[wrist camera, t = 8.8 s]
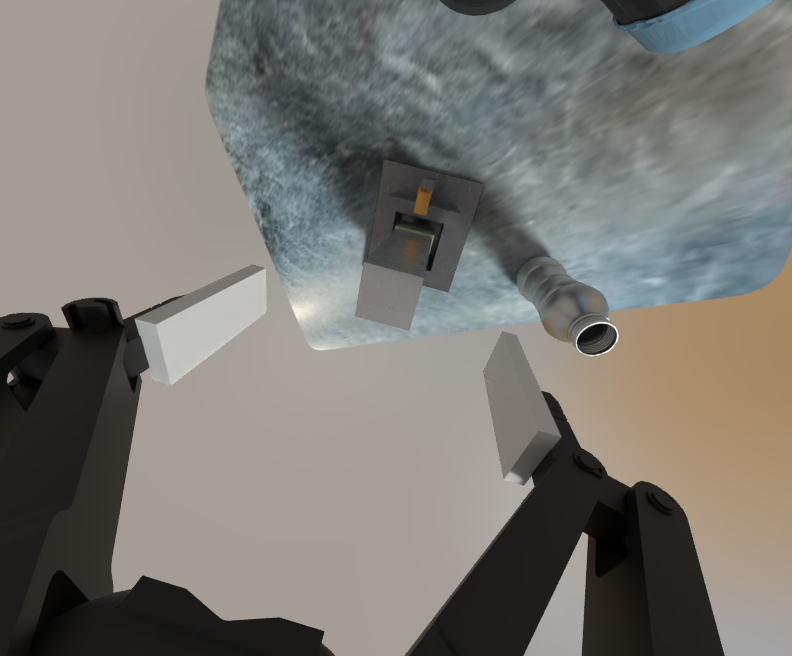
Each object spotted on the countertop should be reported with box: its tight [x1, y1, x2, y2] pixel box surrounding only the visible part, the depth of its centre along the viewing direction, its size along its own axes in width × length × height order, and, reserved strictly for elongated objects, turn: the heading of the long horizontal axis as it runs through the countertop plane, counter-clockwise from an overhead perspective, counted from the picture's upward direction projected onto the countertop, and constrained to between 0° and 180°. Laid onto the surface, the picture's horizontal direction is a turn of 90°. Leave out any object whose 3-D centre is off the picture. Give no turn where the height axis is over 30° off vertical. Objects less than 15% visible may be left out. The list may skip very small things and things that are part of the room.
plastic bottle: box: [517, 256, 619, 356], centre depth 35 cm, size 6×7×20 cm
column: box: [355, 220, 435, 330], centre depth 28 cm, size 5×4×20 cm
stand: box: [368, 159, 484, 292], centre depth 38 cm, size 16×14×12 cm
